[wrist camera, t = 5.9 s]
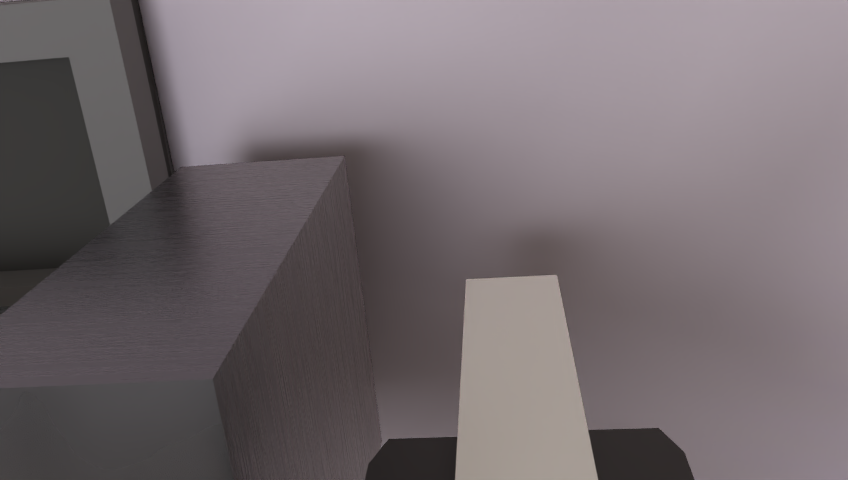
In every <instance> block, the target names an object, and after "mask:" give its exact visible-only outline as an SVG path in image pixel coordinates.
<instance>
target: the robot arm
mask: <svg viewBox="0 0 848 480" xmlns="http://www.w3.org/2000/svg"><path fill="white" fill-rule="evenodd" d="M365 480H694V477H693V475H692V472H691V469H690V467H689V464H688V461H687V458H686V456H685V453H684V452H683V451H682V450H681V449H680V448H679V447H678V446H677V445H676V444H675V443H674V442H673V441H672V440H671V439H670V438H669V437H667V436H666V435H665V434H664V433H663V432H662V431H661V430H660V429H659V428H646V429H613V430H588V427H587V422H586V417H585V412H584V407H583V402H582V397H581V392H580V387H579V382H578V377H577V372H576V367H575V362H574V357H573V352H572V347H571V342H570V337H569V332H568V327H567V322H566V317H565V312H564V307H563V302H562V297H561V292H560V287H559V282H558V277H557V275H542V276H521V277H501V278H481V279H466V288H465V306H464V325H463V343H462V362H461V380H460V399H459V417H458V436H457V437H441V438H408V439H389V440H388V441H387V442H386V443H385V444H384V446H383V447H382V448H381V449H380V450H379V452H378V453H377V454H376V455H375V456H374V458H373V459H372V460H371V461H370V462H369V464H368V468H367V472H366V477H365Z"/></svg>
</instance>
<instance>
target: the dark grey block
mask: <svg viewBox="0 0 848 480" xmlns="http://www.w3.org/2000/svg"><path fill="white" fill-rule="evenodd" d="M381 442H382V438H381V431H380V423H379V415H378V407H377V400H376V392H375V384H374V377H373V369H372V361H371V354H370V346H369V338H368V331H367V323H366V315H365V308H364V300H363V292H362V284H361V277H360V269H359V261H358V254H357V246H356V238H355V231H354V223H353V215H352V208H351V200H350V192H349V184H348V177H347V169H346V161H345V156H333V157H318V158H304V159H290V160H275V161H261V162H247V163H232V164H218V165H204V166H189V167H181V168H179V169H178V170H177V171H176V172H174V173H173V174H172V175H171V176H170V177H168V178H167V179H166V180H165V181H163V182H162V183H161V184H160V185H159V186H157V187H156V188H155V189H154V190H152V191H151V192H150V193H149V194H148V195H146V196H145V197H144V198H143V199H141V200H140V201H139V202H138V203H137V204H135V205H134V206H133V207H132V208H131V209H129V210H128V211H127V212H126V213H124V214H123V215H122V216H121V217H120V218H118V219H117V220H116V221H115V222H113V223H112V224H111V225H110V226H109V227H107V228H106V229H105V230H104V231H102V232H101V233H100V234H99V235H98V236H96V237H95V238H94V239H93V240H91V241H90V242H89V243H88V244H87V245H85V246H84V247H83V248H82V249H81V250H79V251H78V252H77V253H76V254H74V255H73V256H72V257H71V258H70V259H68V260H67V261H66V262H65V263H63V264H62V265H61V266H60V267H59V268H57V269H56V270H55V271H54V272H52V273H51V274H50V275H49V276H48V277H46V278H45V279H44V280H43V281H41V282H40V283H39V284H38V285H37V286H35V287H34V288H33V289H32V290H30V291H29V292H28V293H27V294H26V295H24V296H23V297H22V298H21V299H20V300H18V301H17V302H16V303H15V304H13V305H12V306H5V307H0V480H365V477H366V472H367V468H368V464H369V462H370V461H371V460H372V459H373V458H374V456H375V455H376V454H377V453H378V452H379V450H380V447H381Z"/></svg>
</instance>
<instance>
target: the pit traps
mask: <svg viewBox="0 0 848 480" xmlns="http://www.w3.org/2000/svg"><path fill="white" fill-rule="evenodd" d="M173 173H174V171H173V166H172V161H171V156H170V152H169V147H168V142H167V137H166V133H165V128H164V123H163V118H162V114H161V109H160V104H159V99H158V95H157V90H156V85H155V80H154V76H153V71H152V66H151V61H150V57H149V52H148V47H147V42H146V38H145V33H144V28H143V23H142V19H141V14H140V9H139V4H138V0H21V1H11V2H0V307H5V306H12V305H13V304H15V303H16V302H17V301H18V300H20V299H21V298H22V297H23V296H24V295H26V294H27V293H28V292H29V291H30V290H32V289H33V288H34V287H35V286H37V285H38V284H39V283H40V282H41V281H43V280H44V279H45V278H46V277H48V276H49V275H50V274H51V273H52V272H54V271H55V270H56V269H57V268H59V267H60V266H61V265H62V264H63V263H65V262H66V261H67V260H68V259H70V258H71V257H72V256H73V255H74V254H76V253H77V252H78V251H79V250H81V249H82V248H83V247H84V246H85V245H87V244H88V243H89V242H90V241H91V240H93V239H94V238H95V237H96V236H98V235H99V234H100V233H101V232H102V231H104V230H105V229H106V228H107V227H109V226H110V225H111V224H112V223H113V222H115V221H116V220H117V219H118V218H120V217H121V216H122V215H123V214H124V213H126V212H127V211H128V210H129V209H131V208H132V207H133V206H134V205H135V204H137V203H138V202H139V201H140V200H141V199H143V198H144V197H145V196H146V195H148V194H149V193H150V192H151V191H152V190H154V189H155V188H156V187H157V186H159V185H160V184H161V183H162V182H163V181H165V180H166V179H167V178H168V177H170V176H171V175H172V174H173Z"/></svg>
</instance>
